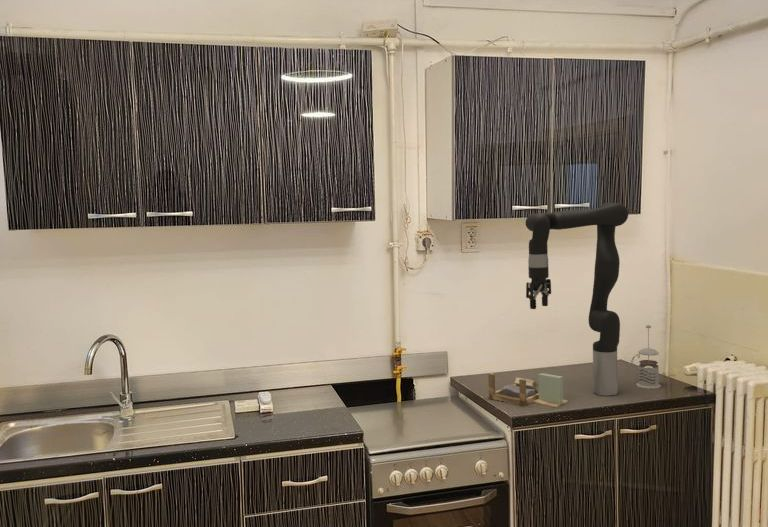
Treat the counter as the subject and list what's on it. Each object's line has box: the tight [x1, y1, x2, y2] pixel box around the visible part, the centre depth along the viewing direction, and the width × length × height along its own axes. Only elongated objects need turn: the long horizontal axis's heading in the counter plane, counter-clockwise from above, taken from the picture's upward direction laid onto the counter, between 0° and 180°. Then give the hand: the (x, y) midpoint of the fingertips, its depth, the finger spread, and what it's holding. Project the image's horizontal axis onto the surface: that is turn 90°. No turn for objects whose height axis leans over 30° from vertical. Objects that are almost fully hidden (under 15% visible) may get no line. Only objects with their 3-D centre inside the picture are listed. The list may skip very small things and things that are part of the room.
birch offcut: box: [513, 377, 539, 394], centre depth 283 cm, size 6×8×2 cm
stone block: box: [501, 384, 536, 398], centre depth 278 cm, size 12×5×10 cm
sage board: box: [538, 372, 564, 404], centre depth 267 cm, size 3×9×10 cm, turn 46°
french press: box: [630, 324, 662, 389], centre depth 286 cm, size 10×12×25 cm
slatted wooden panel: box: [532, 399, 569, 408], centre depth 268 cm, size 9×10×1 cm
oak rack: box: [487, 372, 539, 407], centre depth 276 cm, size 18×16×10 cm
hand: (539, 307), depth 270 cm, fingers open, 8 cm apart
